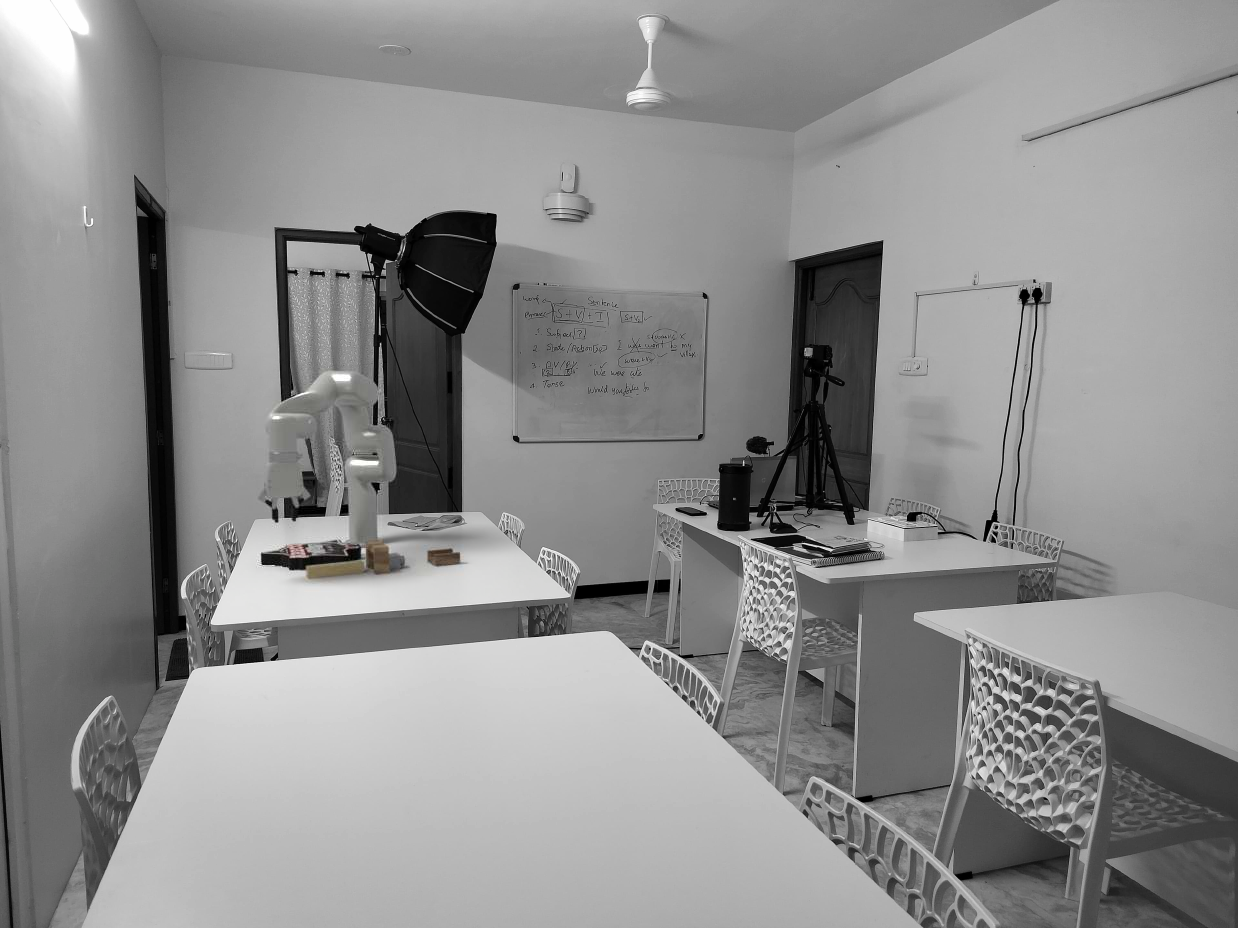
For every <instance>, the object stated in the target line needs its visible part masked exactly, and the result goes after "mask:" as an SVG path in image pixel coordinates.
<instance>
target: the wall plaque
mask: <svg viewBox="0 0 1238 928" xmlns="http://www.w3.org/2000/svg"><path fill="white" fill-rule="evenodd" d="M361 559H362V547H361V546H360V545H359V544H357V543H345V542H342V540H341V539H332V540H327V541H321V542H309V543H308V542H307V543H306V542H305V543H290V544H286V545H285V546H284V547H282V548H279V549H275V550H269V551H263V552H261V553H260V565H261V564H262V565H275V566H274V567H281V566H282V568H286V567H287V569H288V570H289V571H306V566H310V565H320V564H329V563H339V562H348V561H358V560H361ZM262 565H261V566H262Z"/></svg>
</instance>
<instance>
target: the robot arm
mask: <svg viewBox="0 0 1238 928" xmlns="http://www.w3.org/2000/svg"><path fill="white" fill-rule="evenodd" d="M379 393H380V392H379V388H378V385H377V384H376V383H375V382H374V380H372V379H370V378H368V377H367V376H365V375H363V374H361V373H360V372H358V371H355V370H354V371H353V370H327V371H324V372H322V373H321V374H319V376H318V377H317V378H316V379H315V380H314V381H313V382H312V384H311V385H310V386H309V387H308V388H307V389H306V390H305V391H304V392H302V393H299V394H295V396H293V397H290V398H287V399H286V400H283V401H281V402H280V403H278V404H276V406H275V407H274V408H273V409H272V410H271V411H270V413H269V414H268V416H267V417H266V419H265V423H264V427H265V429H264V430H265V431H266V434H267V441H268V443H267V444H268V462H266V463H265V467H264V477H263V478H264V479H263V483H264V484H263V489H262V491H261V492H260V493H259V495H258V497H257V499H258V500H259V501H260V502H262V503H264V504H266V505H267V506H269V508H270V509H271V519H272V521H274V523H275V524H278V523H279V509H278V507H277V505H278V499H288V498H291V502H292V506H291V507H290V508H291V509H290V510H291V521H292V522H297V519H299V507H300V506H301V505H302V503H304V501H306V500H307V499H309V498H311V493H309V491H308V490H307V489H306V487H305V486H304V479H303V473H302V466H301V464H300V463H301V462H299V460H300V459H303V457H304V455H303V453H298V441H297V440H307V439H311V438H312V437H314V436H315V435H316V433H317V431H318V421H317V419H316V418H315V417H316V416H320V415H322V414H325V413H326V412H328V410H329V409H330V408H331V407H332V405H334V406H336V408H338V409H339V412H340V413H341V416H342V421H343V430H344V431H343V432H344V438H345V444H346V447H347V449H348V450H349V451H350V452H354V453H360V454H357V455H352V456H349V457H348V458H347V459H346V461H345V463H344V474H345V478H346V484H347V494H348V498H347V499H348V532H349V534H348V535H349V536H348V537H349V538H348V539H346V540H345V541H344V543H357V544H359V545H360V546H361V548H366V541H377V540H379V541H380V542H382V543H383V539H382V538H379V537H378V498H377V492H376V490H375V488H374V487H373V484H372V483H382V484H383V483H384V484H385V483H391V482H392V481H394V480H395V478H396V476H397V461H396V451H395V442H394V437H393V436H394V435H393V432H392V431H391V429H390V428H389V427H387V426H385V425H372V424H371V423H370V417H369V411H368V408H367V407H369V406H373V405H375V404H376V403H377V402H378V399H379V396H380V395H379ZM361 453H368V454H361ZM371 453H372V454H373V455H372V454H371ZM374 454H377V455H374ZM266 497H267V498H266ZM269 499H271V500H269Z"/></svg>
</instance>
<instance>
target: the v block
mask: <svg viewBox="0 0 1238 928" xmlns="http://www.w3.org/2000/svg"><path fill="white" fill-rule="evenodd" d="M426 552H427V553H426V554H427V555H426V556H427V563H430V564H431V565H432V566H434V567H442V565H444V566H451V565H450V564H453V565H460V564H461V552H459V551H456V552H454V551H453V548H451V547H450V548H440V549H430V550H429V549H428V550H427V551H426ZM459 563H460V564H459Z"/></svg>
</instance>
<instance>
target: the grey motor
mask: <svg viewBox="0 0 1238 928" xmlns="http://www.w3.org/2000/svg"><path fill="white" fill-rule="evenodd" d="M404 556H405V555H401V554H399V553H398V552H391V553H390V552H389V571H395V570H396V569H397V570H401V569H402V568H401V567H403V566H405V564H406V561H405V557H404ZM373 567H374V566H373Z"/></svg>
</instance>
